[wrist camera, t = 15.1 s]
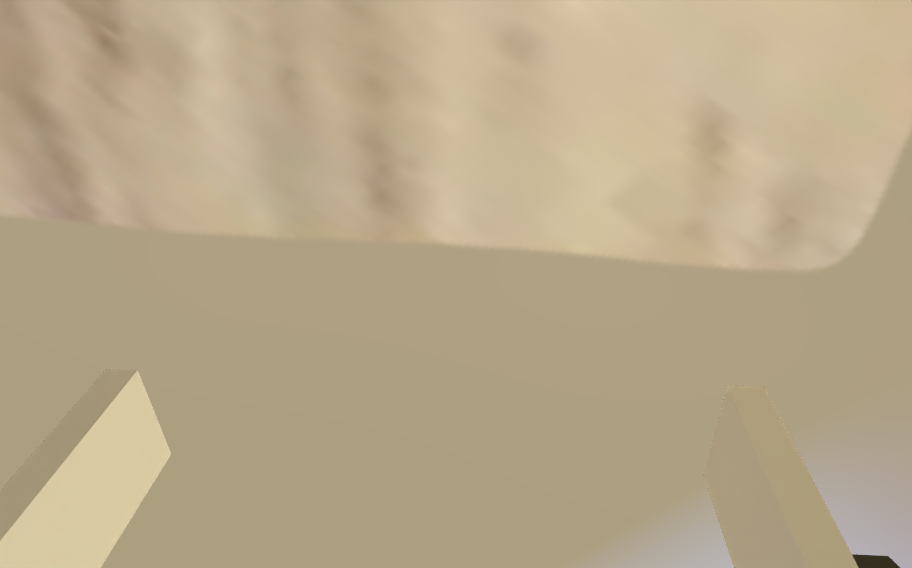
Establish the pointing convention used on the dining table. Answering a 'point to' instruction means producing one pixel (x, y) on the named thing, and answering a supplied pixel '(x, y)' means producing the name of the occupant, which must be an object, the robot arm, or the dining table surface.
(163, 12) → the dining table surface
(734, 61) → the dining table surface
